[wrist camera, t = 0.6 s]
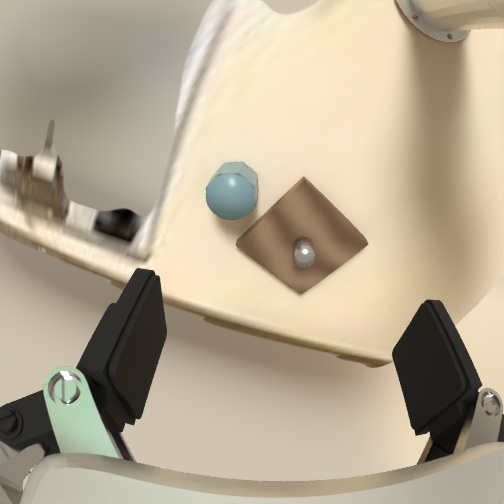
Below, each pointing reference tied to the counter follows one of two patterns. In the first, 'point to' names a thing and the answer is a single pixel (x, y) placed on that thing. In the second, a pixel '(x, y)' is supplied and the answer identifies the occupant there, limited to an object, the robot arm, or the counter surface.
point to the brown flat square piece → (302, 225)
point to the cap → (232, 191)
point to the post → (304, 252)
